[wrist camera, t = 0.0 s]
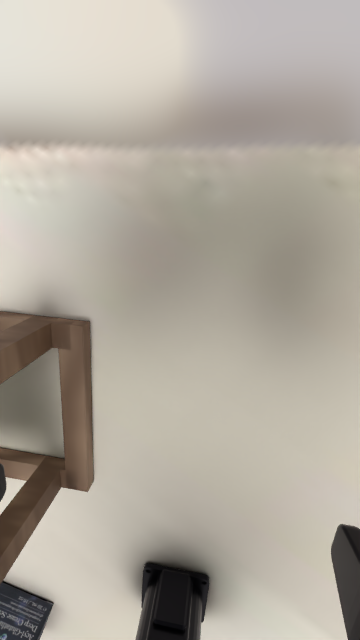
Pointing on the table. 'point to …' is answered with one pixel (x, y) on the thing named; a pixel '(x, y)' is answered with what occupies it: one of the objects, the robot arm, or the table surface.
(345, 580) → the robot arm
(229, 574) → the table surface
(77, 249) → the table surface
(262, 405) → the table surface
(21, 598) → the box
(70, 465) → the frame
